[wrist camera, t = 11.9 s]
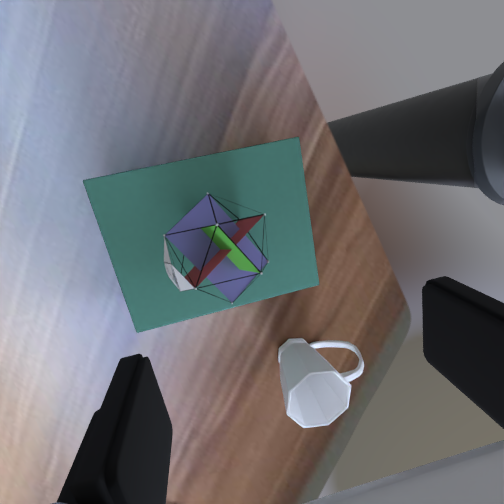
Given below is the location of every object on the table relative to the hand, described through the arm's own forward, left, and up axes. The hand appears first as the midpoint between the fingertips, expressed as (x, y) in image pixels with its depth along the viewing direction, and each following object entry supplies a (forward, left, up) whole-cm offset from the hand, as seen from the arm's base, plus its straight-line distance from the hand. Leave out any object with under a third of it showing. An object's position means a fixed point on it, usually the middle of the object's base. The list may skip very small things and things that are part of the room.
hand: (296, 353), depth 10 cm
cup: (-6, +18, -24) cm, 30 cm away
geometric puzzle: (+1, 0, -16) cm, 16 cm away
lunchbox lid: (+2, -1, -16) cm, 17 cm away
